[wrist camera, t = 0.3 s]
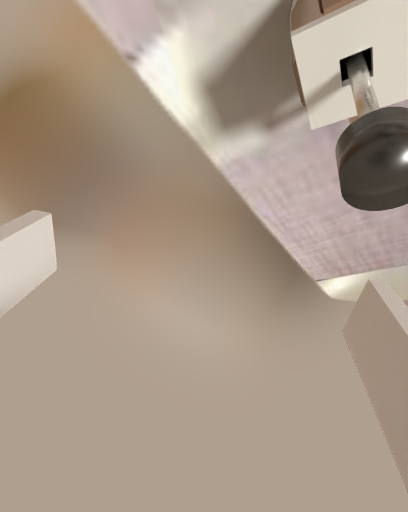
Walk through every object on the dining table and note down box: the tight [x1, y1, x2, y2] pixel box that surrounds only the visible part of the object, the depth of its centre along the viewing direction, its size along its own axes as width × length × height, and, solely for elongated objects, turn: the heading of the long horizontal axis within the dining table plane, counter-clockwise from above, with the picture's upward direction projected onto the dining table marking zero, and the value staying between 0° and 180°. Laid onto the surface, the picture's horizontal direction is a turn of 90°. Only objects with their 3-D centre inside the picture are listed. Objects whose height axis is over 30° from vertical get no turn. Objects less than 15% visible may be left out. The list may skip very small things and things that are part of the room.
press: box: [290, 0, 408, 130], centre depth 28 cm, size 13×10×13 cm
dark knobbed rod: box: [336, 51, 408, 211], centre depth 22 cm, size 5×5×18 cm
